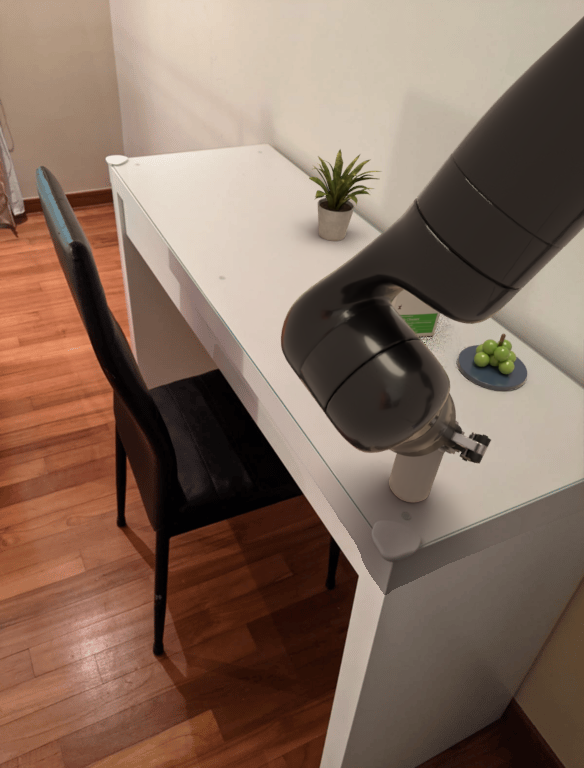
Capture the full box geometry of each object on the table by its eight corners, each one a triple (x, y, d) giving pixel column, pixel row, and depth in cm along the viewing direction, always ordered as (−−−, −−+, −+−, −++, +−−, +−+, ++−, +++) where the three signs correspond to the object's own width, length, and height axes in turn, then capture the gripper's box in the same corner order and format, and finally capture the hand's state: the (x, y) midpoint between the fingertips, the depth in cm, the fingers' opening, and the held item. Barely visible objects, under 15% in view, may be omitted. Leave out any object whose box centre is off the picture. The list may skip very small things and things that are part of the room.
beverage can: (413, 468, 73) (437, 392, 65) (438, 497, 70) (465, 421, 62) (380, 479, 71) (400, 402, 63) (403, 510, 68) (427, 432, 60)
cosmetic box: (386, 339, 93) (407, 246, 84) (372, 316, 98) (390, 225, 88) (436, 336, 95) (462, 245, 85) (420, 313, 100) (443, 224, 90)
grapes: (540, 381, 88) (555, 346, 84) (487, 397, 85) (501, 361, 81) (494, 343, 95) (506, 309, 91) (443, 356, 91) (454, 321, 87)
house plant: (337, 262, 111) (351, 174, 101) (279, 236, 117) (286, 150, 107) (379, 238, 120) (395, 155, 110) (323, 216, 127) (333, 135, 116)
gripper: (507, 403, 48) (508, 430, 64) (351, 335, 54) (387, 375, 70) (466, 488, 48) (477, 494, 64) (313, 411, 54) (357, 434, 69)
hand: (430, 432), depth 67 cm, fingers closed on beverage can, 5 cm apart
